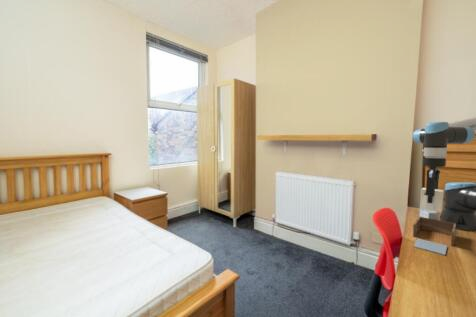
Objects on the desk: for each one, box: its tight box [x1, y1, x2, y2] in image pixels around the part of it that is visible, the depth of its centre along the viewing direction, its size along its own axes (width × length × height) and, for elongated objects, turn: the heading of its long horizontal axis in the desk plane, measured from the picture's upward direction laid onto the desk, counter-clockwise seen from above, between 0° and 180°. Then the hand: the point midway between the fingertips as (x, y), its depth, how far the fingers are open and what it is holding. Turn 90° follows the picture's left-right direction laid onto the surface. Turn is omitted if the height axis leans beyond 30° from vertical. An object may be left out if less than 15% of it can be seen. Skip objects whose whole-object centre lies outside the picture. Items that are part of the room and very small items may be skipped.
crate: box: [412, 216, 457, 247], centre depth 102 cm, size 15×14×6 cm
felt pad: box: [412, 238, 448, 256], centre depth 92 cm, size 10×10×1 cm
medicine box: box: [418, 208, 439, 220], centre depth 113 cm, size 8×4×9 cm, turn 168°
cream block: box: [419, 187, 445, 213], centre depth 95 cm, size 5×7×9 cm
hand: (430, 208), depth 95 cm, fingers closed on cream block, 5 cm apart
